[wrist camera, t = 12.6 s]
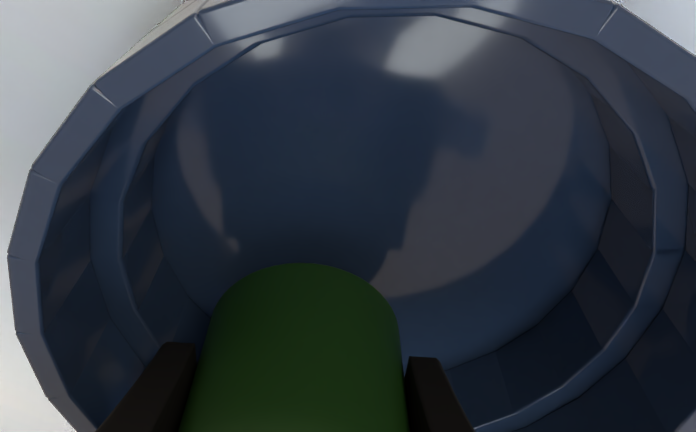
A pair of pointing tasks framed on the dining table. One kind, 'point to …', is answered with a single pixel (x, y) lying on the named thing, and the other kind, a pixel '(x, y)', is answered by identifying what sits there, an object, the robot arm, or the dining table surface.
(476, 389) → the shallow round dish
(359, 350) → the green pepper
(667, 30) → the dining table surface
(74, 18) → the dining table surface
